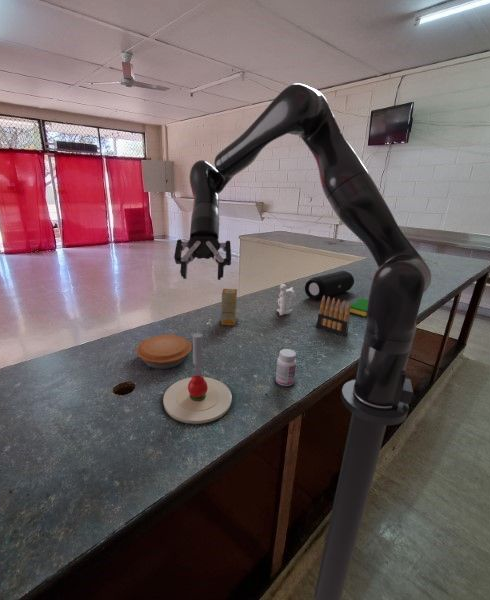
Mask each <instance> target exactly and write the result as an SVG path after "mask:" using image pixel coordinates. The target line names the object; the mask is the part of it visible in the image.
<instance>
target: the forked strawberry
mask: <svg viewBox="0 0 490 600" xmlns="http://www.w3.org/2000/svg"><path fill="white" fill-rule="evenodd" d="M192 364H193V366H195V368H193V375H192V376H191V377H192V379H191V381H190V382H189V384H188V391H189V393H190V399H191V400H193V401H202V400H204V399H205V398H206V392H207V389H208V385H207V382H206V381H205V380H204V378H203V377H204V376H203V371H202V370H203V369H202V368H201V366H202V364H203V334H202V333H201V332H197V333H193V334H192Z"/></svg>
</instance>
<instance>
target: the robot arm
mask: <svg viewBox="0 0 490 600" xmlns="http://www.w3.org/2000/svg"><path fill="white" fill-rule="evenodd" d="M285 135H293V136H298V137H299V138H300V139H301V141H303V143H304V144H305V145H306V146H307V148H308V149H309V151H310V153H311V154H312V155H313V158H314V160H315V163H316V166H317V169H318V175H319V181H320V184H321V189H322V191H323V194H324V197H325V198H326V200H327V201H328V203H329V205H330V206H331V208H332V210H333V211H334V213H335V215H336V216H337V218H338V219H339V220H340V221H341V223H343V224H344V226H346V228H347V229H348V230H349V231H351V233H353V234H354V235H355V236H356V237H357V239H359V240H360V241H361V242H362V243H363V244H364V245H365V246H366V248H367V249H368V251H369V252H370V254H371V255H372V258H373V260H374V261H375V263H376V265H377V267H378V268H377V270H376V271H375V273H374V274H373V277H372V280H371V284H370V289H369V295H368V299H367V300H368V306H367V316H366V320H367V322H366V327H365V331H364V336H363V341H362V346H361V351H360V357H359V361H358V366H357V372H356V376H355V379H356V380H355V379H354V380H355V384H354V388H353V395H354V397H355V398H356V399H357V400H358V401H359V402H360V403H362V404H363V405H365V406H367V407H369V408H372V409H376V410H382V411H386V410H396V411H397V409H398V405H399V402H402V403H404V404H408V405H411V403H412V402H414V401H415V400H416V394H415V392H414V390H413V385H412V380H411V379H410V378H407V375H408V374H407V365H408V361H409V357H410V354H411V350H412V347H413V342H414V338H415V335H416V332H417V319H418V315H419V311H420V307H421V303H422V299H423V295H424V294H425V293H426V291H427V290H428V289H429V287H430V285H431V283H432V272H431V268H430V266H429V265H428V263H427V262H426V260H425V259H424V257H422V255H421V254H420V253H419V252H418V250H417V249H416V248H415V247H414V245H413V244H412V242H411V241H410V240H409V239H408V237H407V236H406V235H405V234H404V232H403V230H401V228H400V225H398V223H397V221H396V219H395V217H394V215H393V213H392V211H391V209H390V207H389V205H388V204H387V202H386V200H385V199H384V197H383V195H382V193H381V192H380V190H379V187H378V186H377V185H376V183H375V181H374V180H373V177H372V176H371V175H370V173H369V171H368V169H366V167H365V165H364V164H363V162H362V161H361V159H360V158H359V156H358V154H357V153H356V152H355V151H354V149H353V148H352V146H351V145H350V143H349V142H348V140H347V139H346V138H345V136H344V135H343V133H342V131H341V129H340V126H339V124H338V123H337V121H336V118H335V116H334V113H333V112H332V109H331V107H330V105H329V103H328V101H327V98H326V97H325V96H324V94H323V93H322V92H321V91H319V90H318V89H315V88H313V87H310V86H308V85H306V84H303V83H292V84H290V85H288V86H287V87H285V88H284V89H283V90H282V91H281V92H280V93H278V95H277V96H275V98H274V99H273V100H272V101H271V102H270V104H269V105H268V106H267V107H266V108H265V110H264V111H262V113H261V114H260V115H259V116H258V117H257V118H256V119H255V120H254V122H252V124H251V125H249V127H248V128H247V129H246V130H244V132H242V134H241V135H239V136H238V137H237V138H236V139H235V140H233V141H232V142H231V143H230V144H228V145H227V146H226V147H224V148H223V149H221V151H219V152H218V153H217V154H216V156H215V158H214V161H213V163H214V165H212V164H211V163H210V162H208V161H207V160H203V159H201V160H197V161H196V162H194V164H192V166H191V169H190V171H189V184H190V189H191V193H192V197H193V204H192V205H193V206H192V213H191V219H190V231H189V239H188V241H182V239H180V238H178V239H177V240H176V244H175V249H174V257H173V260H174V262H175V264H176V265H180V270H179V273H180V277H181V278H182V279H183V280H187V276H188V265H189V264H190V263H191V262H193V261H194V260H195V259H197V260H198V259H199V260H201V259H205V260H210V259H211V260H213V261H214V263H216V264H217V280H218V281H221V279H222V278H224V269H225V266H231V265H232V249H231V248H232V247H231V241H230V240H225V242H220V241H219V237H220V236H219V235H220V196H219V194H220V193H221V192H223V191H224V189H225V188H226V187H227V185H228V184H229V183H230V181H231V180H232V179H233V178H234V176H236V175H237V174H239V173H241V172H242V171H243V170H245V169H246V168H248V167H249V166H250V165H252V163H253V162H254V161H255V160H256V159H257V157H258V156H259V155H260V153H261V152H262V150H264V148H266V146H267V145H269V144H270V143H271V142H274V141H275V140H277V139H279V138H281V137H283V136H285ZM186 248H187V249H188V250H187V251H186V253H185V254H184V255H183V256H182V253H183V251H184V250H185V249H186ZM220 249H222V251H223V252H225V258H223V257H222V255H221V254H220V252H219V250H220Z"/></svg>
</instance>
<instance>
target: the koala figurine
mask: <svg viewBox="0 0 490 600" xmlns="http://www.w3.org/2000/svg"><path fill="white" fill-rule="evenodd" d="M279 290H280V292H279V294H278V296H279V298H277V305H278V306H279V308H277V309H276V311H277V312H278V314H279V316H283V315H290V314H291V313H292V312H293V309H290V307H291V306H292V300H293V299H295V298H296V297H297V295H296V292H295V290H294V287H293V286H291V287H289V288H287V284H284V283H281V284H280V286H279Z"/></svg>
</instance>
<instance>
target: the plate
mask: <svg viewBox="0 0 490 600" xmlns="http://www.w3.org/2000/svg"><path fill="white" fill-rule="evenodd" d="M192 377H193V376H191V377H187V378H183V379H180V380H178V381H176V382H174V383H173V384H171V385H170V386H169V387H168V388H167V389H166V390H165V392H164V394H163V397H162V398H163V399H162V403H163V409H164V410H165V412H166V413H167V415H169V416H170V417H171V418H172V419H174V420H175V421H178V422H181V423H186V424H191V425H192V424H193V425H197V424H198V425H200V424H207V423H211V422H214V421H216V420H218V419H220V418H222V417H223V416H224V415H226V414H227V413H228V411H229V410H230V408H231V406H232V401H233V395H232V391H231V390H230V388H229V387H228V385H226V384H225V383H224V382H222V381H220V380H218V379H216V378H212V377H207V376H203V378H204V380H205V381H206V382H207V385H208V389H207V392H206V398H205V399H204V400H202V401H193V400H191V399H190V393H189V391H188V384H189V382H190V381H191V379H192Z"/></svg>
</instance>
